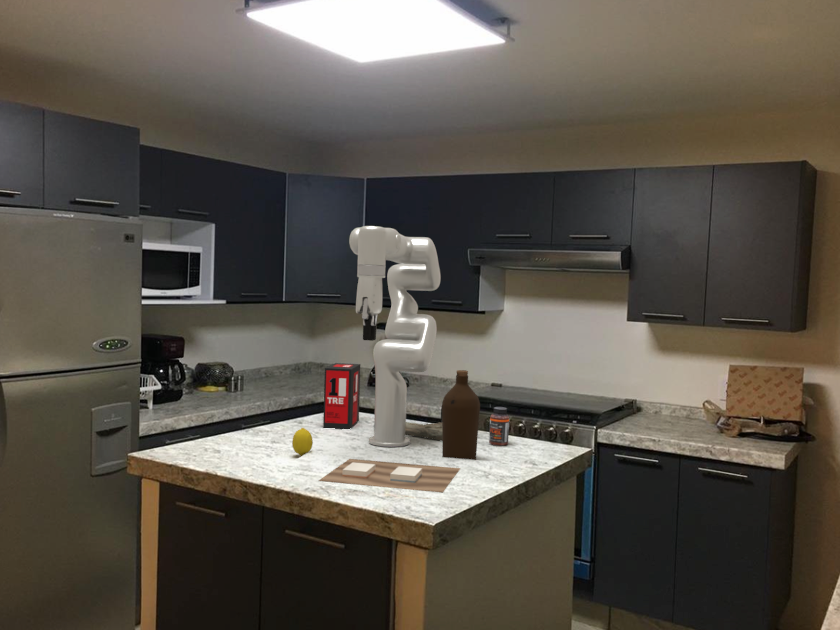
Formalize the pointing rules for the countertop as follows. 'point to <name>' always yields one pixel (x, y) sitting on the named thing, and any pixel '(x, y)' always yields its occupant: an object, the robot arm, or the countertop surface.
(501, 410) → the supplement bottle
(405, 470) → the tile
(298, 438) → the lemon
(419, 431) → the long grey stone
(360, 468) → the tile
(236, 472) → the countertop surface
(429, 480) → the board
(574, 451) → the countertop surface
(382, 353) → the robot arm
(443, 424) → the olive oil
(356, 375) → the cleaning product box
